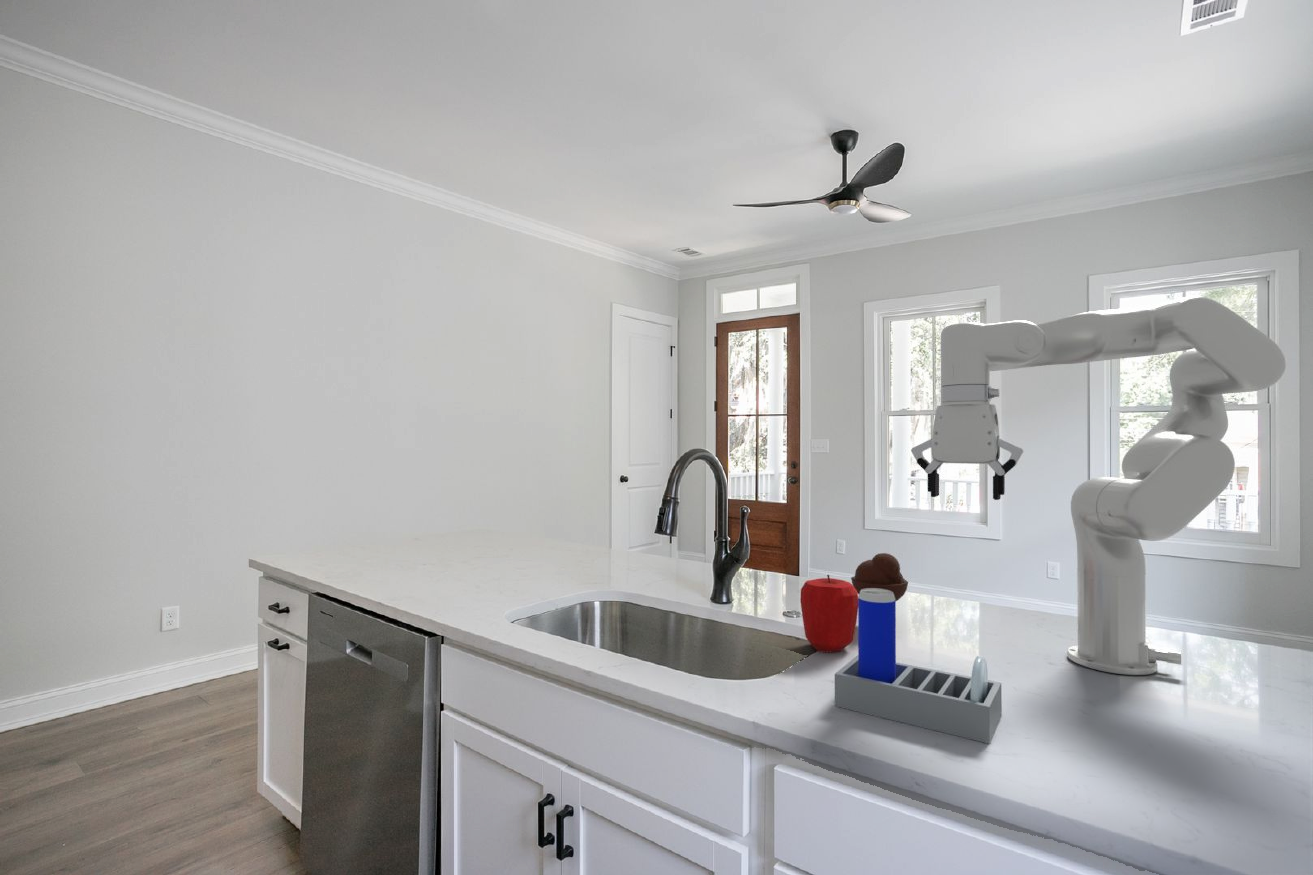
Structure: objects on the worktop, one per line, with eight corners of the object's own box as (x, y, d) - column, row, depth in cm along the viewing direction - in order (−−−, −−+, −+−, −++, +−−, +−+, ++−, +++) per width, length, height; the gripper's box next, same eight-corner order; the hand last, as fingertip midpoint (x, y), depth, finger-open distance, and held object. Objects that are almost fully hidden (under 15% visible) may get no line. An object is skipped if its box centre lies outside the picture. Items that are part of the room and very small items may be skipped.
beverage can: (895, 690, 96) (895, 589, 96) (896, 703, 92) (896, 596, 92) (859, 685, 98) (858, 586, 98) (857, 698, 93) (857, 594, 93)
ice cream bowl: (898, 618, 138) (898, 548, 139) (914, 634, 127) (913, 557, 127) (847, 617, 140) (847, 547, 140) (858, 632, 128) (858, 557, 128)
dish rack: (1001, 715, 90) (1001, 682, 90) (989, 743, 82) (989, 706, 82) (857, 684, 101) (857, 654, 101) (834, 705, 93) (834, 673, 93)
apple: (857, 660, 112) (856, 582, 112) (797, 654, 116) (796, 578, 116) (860, 642, 122) (860, 570, 122) (805, 637, 126) (804, 567, 126)
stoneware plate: (987, 708, 90) (987, 650, 90) (977, 729, 83) (977, 667, 83) (981, 707, 90) (981, 649, 90) (970, 727, 84) (970, 665, 84)
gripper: (1025, 396, 108) (1026, 498, 108) (917, 400, 118) (917, 494, 118) (1019, 393, 102) (1020, 502, 102) (906, 398, 112) (906, 496, 112)
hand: (965, 497), depth 110 cm, fingers open, 9 cm apart
